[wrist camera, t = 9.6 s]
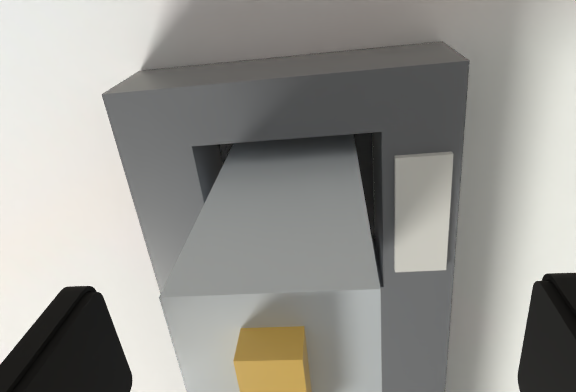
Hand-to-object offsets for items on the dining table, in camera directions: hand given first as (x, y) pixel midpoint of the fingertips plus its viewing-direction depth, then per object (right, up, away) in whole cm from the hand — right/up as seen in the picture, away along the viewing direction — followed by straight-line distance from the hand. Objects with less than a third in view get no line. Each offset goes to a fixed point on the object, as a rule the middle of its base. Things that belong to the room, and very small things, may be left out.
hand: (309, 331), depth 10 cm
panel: (+1, -1, +9) cm, 10 cm away
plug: (0, +4, +7) cm, 8 cm away
